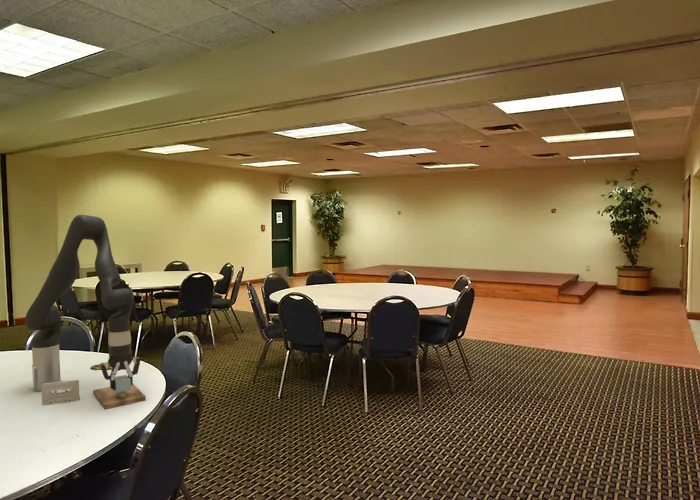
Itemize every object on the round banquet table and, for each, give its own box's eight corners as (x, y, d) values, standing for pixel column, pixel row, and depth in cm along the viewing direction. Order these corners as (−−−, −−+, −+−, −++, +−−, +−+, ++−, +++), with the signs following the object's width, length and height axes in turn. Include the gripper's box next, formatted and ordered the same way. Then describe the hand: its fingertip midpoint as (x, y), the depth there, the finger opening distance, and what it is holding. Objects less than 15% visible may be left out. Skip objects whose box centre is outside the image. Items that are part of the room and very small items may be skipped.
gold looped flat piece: (89, 375, 214) (126, 370, 220) (88, 365, 214) (126, 360, 219) (91, 367, 223) (127, 362, 229) (91, 357, 222) (126, 353, 228)
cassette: (79, 399, 181) (79, 379, 181) (79, 400, 180) (78, 380, 179) (42, 404, 177) (41, 383, 176) (41, 405, 175) (40, 385, 175)
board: (104, 409, 171) (103, 397, 171) (93, 393, 187) (92, 383, 186) (145, 400, 179) (145, 388, 179) (131, 386, 195) (131, 375, 195)
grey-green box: (112, 387, 181) (112, 376, 181) (126, 385, 184) (125, 373, 184) (116, 392, 175) (116, 381, 175) (131, 389, 178) (130, 378, 178)
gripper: (137, 337, 186) (139, 381, 187) (96, 344, 177) (98, 389, 178) (142, 341, 180) (144, 386, 181) (100, 348, 171) (102, 395, 172)
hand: (121, 387), depth 180 cm, fingers closed on grey-green box, 4 cm apart
